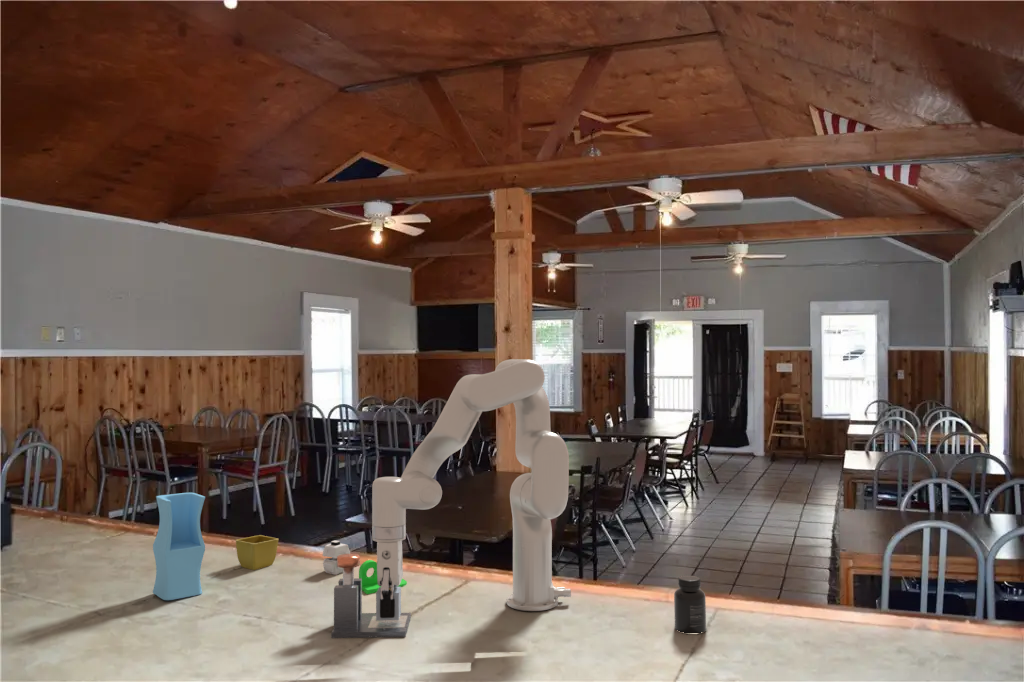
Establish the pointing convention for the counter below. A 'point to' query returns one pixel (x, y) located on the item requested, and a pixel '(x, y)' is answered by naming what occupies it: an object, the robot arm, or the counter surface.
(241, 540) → the flower pot
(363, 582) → the mechanical part
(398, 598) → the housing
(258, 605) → the counter surface
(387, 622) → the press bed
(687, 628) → the supplement bottle
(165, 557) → the vase
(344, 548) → the grey blocky fitting
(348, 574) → the ram
